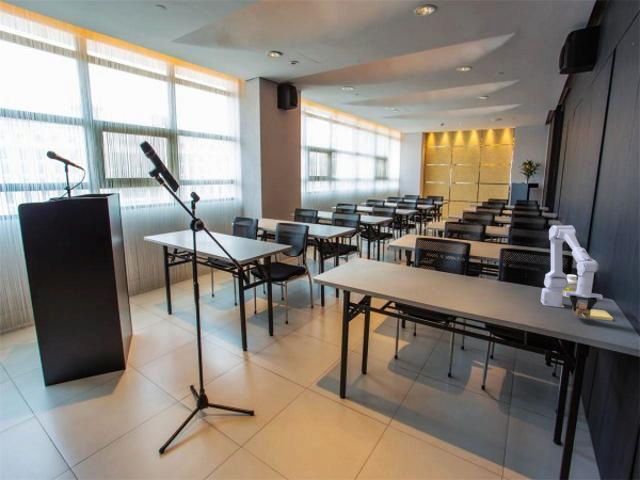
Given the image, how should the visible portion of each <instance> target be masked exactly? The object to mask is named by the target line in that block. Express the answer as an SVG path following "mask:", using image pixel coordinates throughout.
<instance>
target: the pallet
mask: <svg viewBox="0 0 640 480" xmlns="http://www.w3.org/2000/svg"><path fill="white" fill-rule="evenodd" d="M571 307H572V306H571ZM571 311H572V312H573V313H574V314H575V316H576V317H578V318H582V316H583V315H584V316H585V317H586V318H585V317H584V316H583V317H584V318H585V319H591V318H590V314H591V311H590V310H589V309H588V308H586V309H579V308H578V307H577V305H576V311H573V307H572V309H571ZM582 314H583V315H582Z"/></svg>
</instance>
